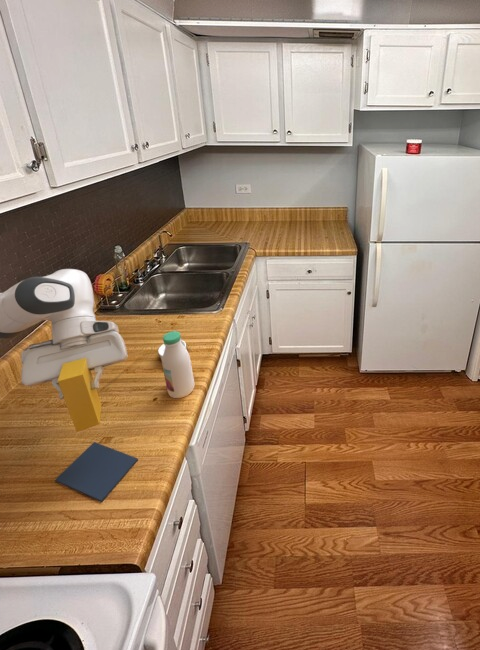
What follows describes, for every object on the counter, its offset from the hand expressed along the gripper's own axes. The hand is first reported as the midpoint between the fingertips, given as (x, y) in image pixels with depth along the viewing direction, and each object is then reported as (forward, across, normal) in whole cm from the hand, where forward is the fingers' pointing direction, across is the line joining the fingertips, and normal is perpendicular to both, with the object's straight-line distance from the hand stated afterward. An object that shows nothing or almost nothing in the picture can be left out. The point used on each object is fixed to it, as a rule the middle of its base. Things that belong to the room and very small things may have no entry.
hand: (80, 393), depth 75 cm
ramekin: (-7, +20, +34) cm, 40 cm away
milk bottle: (+5, +20, +23) cm, 31 cm away
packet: (+6, 0, +6) cm, 8 cm away
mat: (+17, 0, +10) cm, 20 cm away
